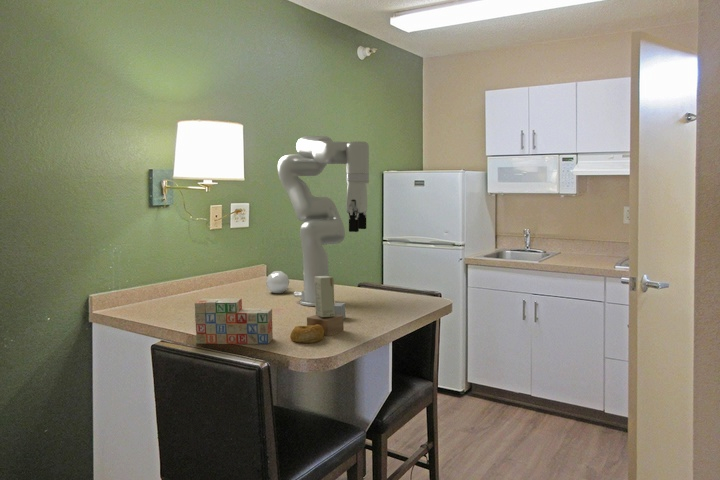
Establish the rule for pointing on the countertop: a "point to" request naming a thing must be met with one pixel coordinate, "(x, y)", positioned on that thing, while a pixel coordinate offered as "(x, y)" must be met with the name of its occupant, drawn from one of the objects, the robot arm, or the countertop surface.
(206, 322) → the stack of blocks
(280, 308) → the countertop surface
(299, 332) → the bagel
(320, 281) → the skincare box
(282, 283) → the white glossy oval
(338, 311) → the grey block
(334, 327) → the walnut block
